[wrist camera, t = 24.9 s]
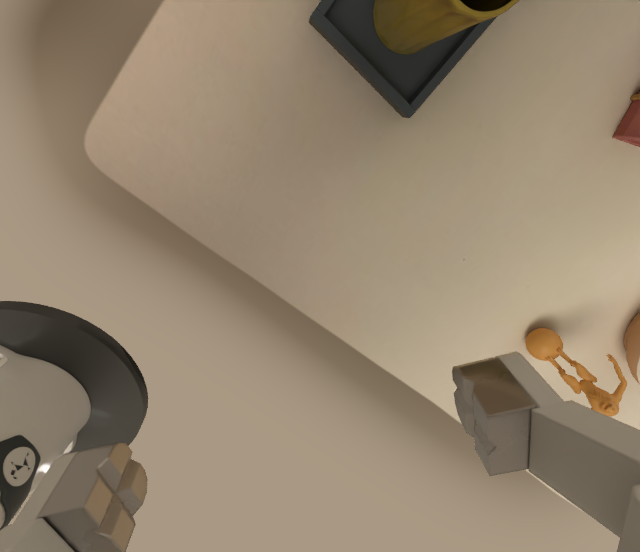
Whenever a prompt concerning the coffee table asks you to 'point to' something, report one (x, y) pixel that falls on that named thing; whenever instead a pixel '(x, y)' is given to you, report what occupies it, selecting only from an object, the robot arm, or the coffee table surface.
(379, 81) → the tray
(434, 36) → the vase
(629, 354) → the bowl
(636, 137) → the book
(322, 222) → the coffee table surface
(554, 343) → the figurine
